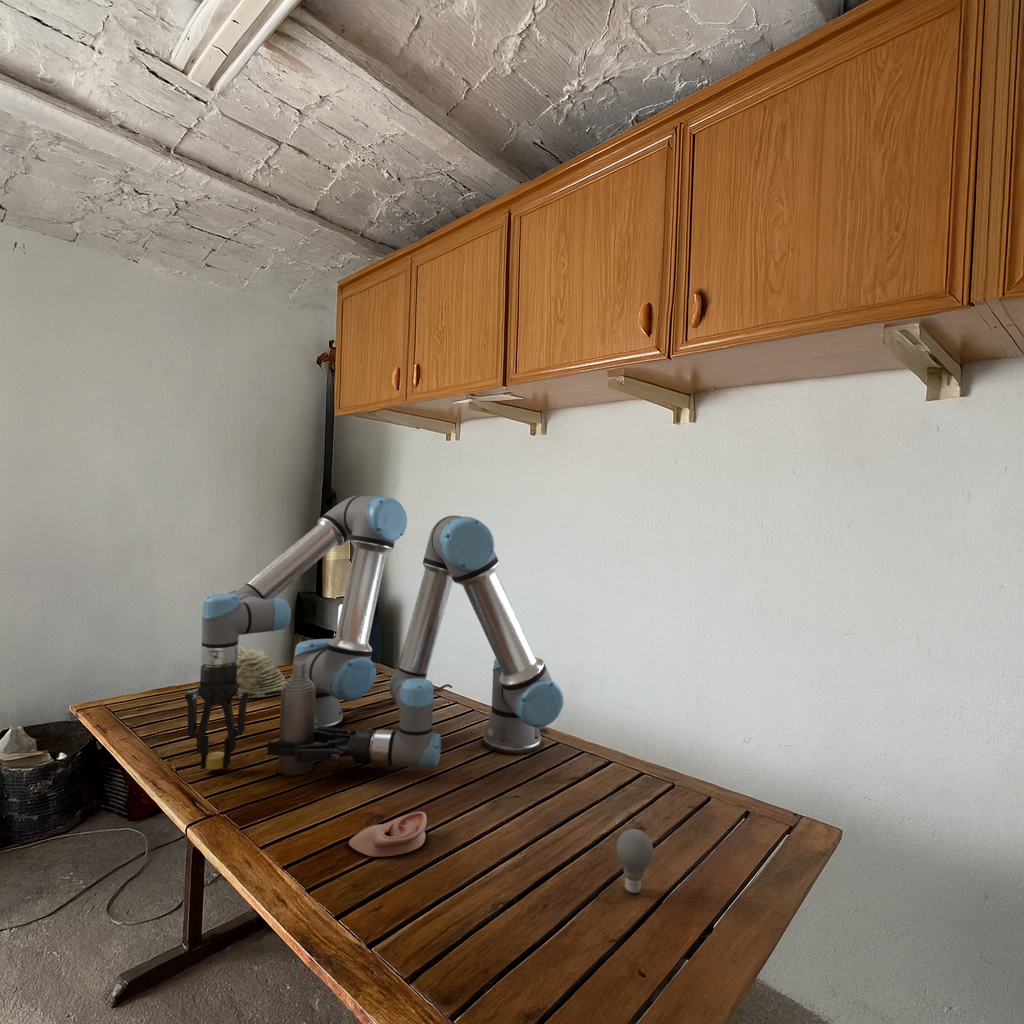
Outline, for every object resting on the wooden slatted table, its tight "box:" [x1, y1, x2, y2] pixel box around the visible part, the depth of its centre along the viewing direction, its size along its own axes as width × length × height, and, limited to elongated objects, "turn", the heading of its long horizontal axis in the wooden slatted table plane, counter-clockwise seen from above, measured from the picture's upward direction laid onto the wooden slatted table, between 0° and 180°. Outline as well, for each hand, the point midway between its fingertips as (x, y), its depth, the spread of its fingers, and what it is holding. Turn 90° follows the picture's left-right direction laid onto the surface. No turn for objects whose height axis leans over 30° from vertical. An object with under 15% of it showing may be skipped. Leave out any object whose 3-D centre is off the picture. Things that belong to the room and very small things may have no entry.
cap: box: [205, 751, 224, 770], centre depth 143 cm, size 4×4×2 cm
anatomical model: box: [348, 811, 428, 858], centre depth 117 cm, size 13×4×12 cm
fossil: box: [232, 646, 287, 699], centre depth 198 cm, size 9×18×15 cm, turn 132°
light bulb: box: [615, 828, 654, 894], centre depth 106 cm, size 6×6×10 cm
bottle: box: [277, 661, 316, 776], centre depth 147 cm, size 8×8×25 cm
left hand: (215, 765), depth 143 cm, fingers open, 4 cm apart
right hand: (275, 741), depth 147 cm, fingers closed on bottle, 8 cm apart
